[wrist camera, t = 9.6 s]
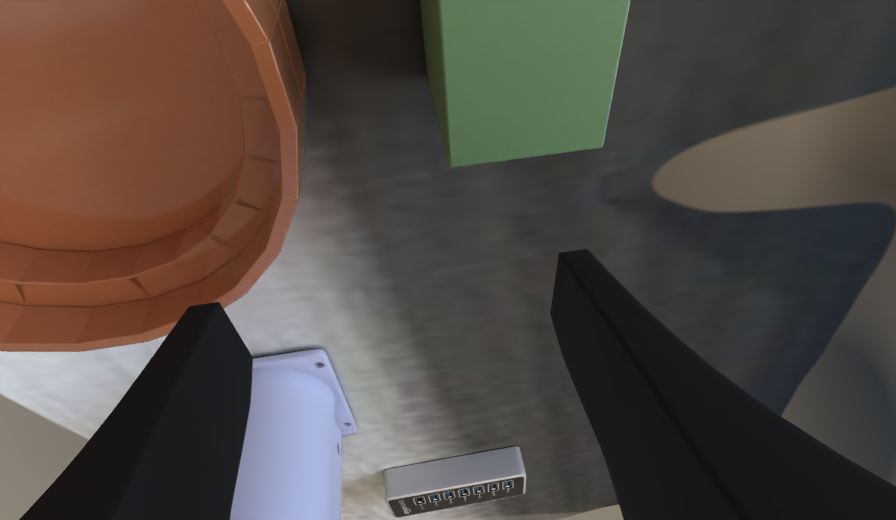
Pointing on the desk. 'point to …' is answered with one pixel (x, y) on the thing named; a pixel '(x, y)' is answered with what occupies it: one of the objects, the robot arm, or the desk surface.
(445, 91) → the green block
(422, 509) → the multiport hub
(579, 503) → the desk surface
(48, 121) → the basin
